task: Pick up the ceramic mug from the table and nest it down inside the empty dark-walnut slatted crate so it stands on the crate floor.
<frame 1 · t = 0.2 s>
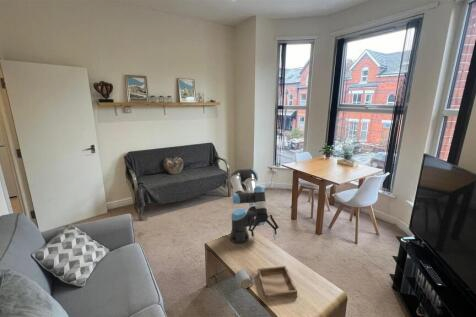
hand: (264, 241, 152), 16 cm above the table, tool tilted 35°, fingers open, 13 cm apart
crate: (276, 285, 136), on the table
ceramic mug: (245, 283, 138), on the table
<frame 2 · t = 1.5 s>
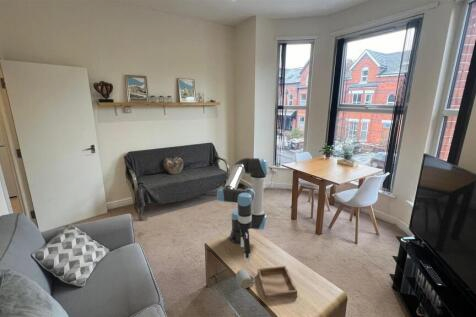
hand: (244, 253, 133), 21 cm above the table, tool pointing down, fingers open, 13 cm apart
nothing on the table moved.
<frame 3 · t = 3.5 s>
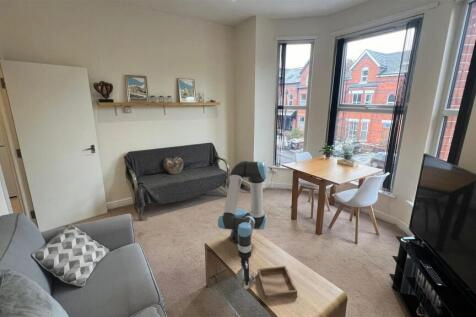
hand: (245, 281, 137), 1 cm above the table, tool pointing down, fingers closed on ceramic mug, 9 cm apart
ceramic mug: (246, 282, 139), on the table, touching gripper
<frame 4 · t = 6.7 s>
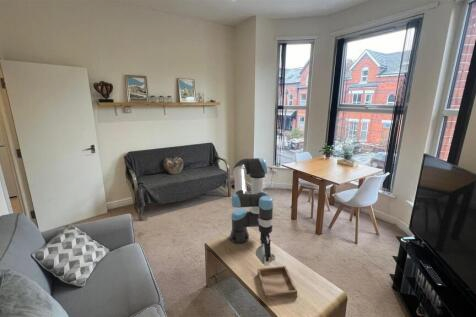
hand: (264, 259, 132), 18 cm above the table, tool pointing down, fingers closed on ceramic mug, 9 cm apart
ceramic mug: (266, 260, 133), point 16 cm above the table, touching gripper
when the fingers open (3 cm above the table, at t = 9.8 s): ceramic mug stays where it is, resting on crate.
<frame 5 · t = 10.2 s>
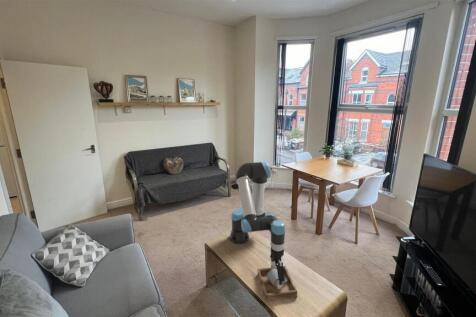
hand: (276, 279, 135), 4 cm above the table, tool pointing down, fingers open, 13 cm apart
ceramic mug: (277, 282, 137), point 1 cm above the table, touching crate
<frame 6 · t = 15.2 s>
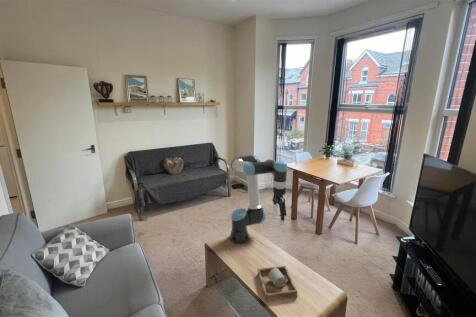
hand: (278, 218, 142), 35 cm above the table, tool pointing down, fingers open, 13 cm apart
nothing on the table moved.
at the end: ceramic mug inside the target area on the crate (1.9 cm from its centre), point 0.8 cm above the crate's base; ceramic mug tilted 2°; the gripper is holding nothing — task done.
